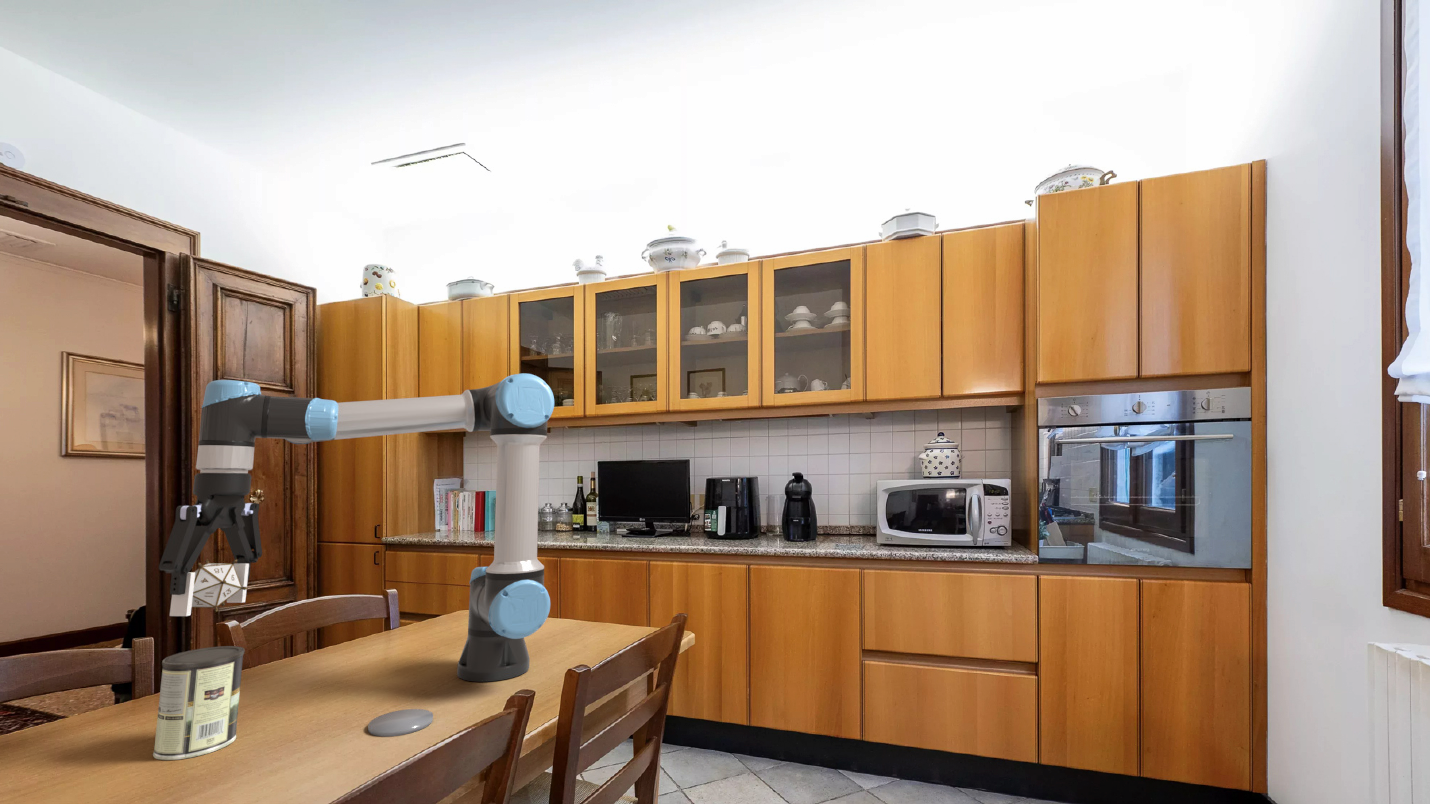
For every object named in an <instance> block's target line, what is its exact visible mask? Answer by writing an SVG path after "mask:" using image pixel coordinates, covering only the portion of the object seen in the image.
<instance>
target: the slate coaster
mask: <svg viewBox="0 0 1430 804" xmlns="http://www.w3.org/2000/svg"><path fill="white" fill-rule="evenodd" d="M433 720H434V714H433V712H432V711H430V710H428V709H421V708H407V709H401V710H395V711H391V712H388V713H387V712H386V713H384V714H381V715H379V716H377V717H375V718H372V720H370V722H369V723H368V726H367V728H368V730H367V731H368V734H371V736H376V737H398V736H405V735H409V734H412V733H416V732H418V731H421V730H423V729H426V728H427V727H429V726H430V725H431V724H432V723H433V722H434V721H433Z"/></svg>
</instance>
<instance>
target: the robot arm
mask: <svg viewBox="0 0 1430 804" xmlns="http://www.w3.org/2000/svg"><path fill="white" fill-rule="evenodd" d="M554 409H555V398H554V393H553V390H552V388H551V387H550V386H549V385H548V384H547V383H546V381H545V380H543V379H542V378H541V377H539V376H537V375H536V374H535V375H534V374H532V373H524V372H523V373H516V374H511V375H508V376H506V377H505V378H504V379H502V380H501V381H498V382H497V383H495V384H492V385H489V386H486V387H479V388H476V389H475V388H473V389H465V390H464V391H463V392H462V393H461V394H453V395H452V394H451V395H438V396H437V395H436V396H423V397H409V398H407V397H406V398H405V397H404V398H390V399H376V400H374V399H373V400H361V401H359V400H357V401H345V402H344V401H343V402H337V401H336V400H333V399H322V398H319V397H314V398H311V397H295V396H294V397H293V396H290V397H289V396H274V395H266V394H262V392H261V386H260V385H259V384H258V383H255V382H252V381H251V382H250V381H244V380H243V381H241V380H233V379H218V380H212V381H210V382H208V384H207V385H206V387H205V391H204V396H203V401H202V405H201V414H200V415H201V416H200V426H199V436H198V447H197V456H196V463H195V464H196V465H195V469H196V470H197V471H200V472H199V473H196V475H194V480H193V487H192V488H193V489H192V494H193V495H194V496H196V502H195V503H194V505H178V506H177V507H176V509H175V519H174V524H173V527H172V529H171V532H170V534H169V538H168V540H167V543H166V545H165V548H164V551H163V554H162V556H161V559H160V562H159V565H158V570H159V571H164V572H165V573H166V574H171V575H170V576H171V577H170V579H171V580H170V584H169V585H170V586H169V587H170V588H169V594H170V595H171V600H170V609H169V617H189V616H191V614H192V608H193V607H192V598H193V589H194V580H195V572H194V571H193V572H192V571H191V570H192V568H194V567H193V566H194V565H195V563H196V561H197V560H198V558H199V556H200V555H201V552H202V550H203V549H204V547H205V546H206V543H207V542H208V540H209V538H210V537H211V535H212V534H214V533H215V532H216V531H217V529H220V530H221V531H222V532H224V535H225V537H226V540H227V542H228V545H229V548H230V550H231V553H232V556H233V559H234V560H237V562H236V563H235V564H234V567H235V569H236V572H237V575H238V577H239V580H240V583H241V585H242V587H247V588H248V582H249V579H250V573H251V565H252V563H254V564H256V563H257V562H258V560H259V558H261V557H262V556H263V548H262V547H263V546H262V540H261V533H260V524H259V511H260V504H259V503H258V502H254V503H253V502H246V501H245V496H248V495H249V494H250V492H251V484H252V475H251V473H249V471H252V470H253V468H254V460H255V459H254V458H255V456H254V455H255V446H256V438H258V439H260V438H261V439H278V440H279V439H284V440H285V441H287V442H289V443H291V444H295V445H307V444H310V443H311V444H312V443H315V442H316V443H317V442H326V441H335V440H344V439H345V440H346V439H356V438H369V437H379V436H388V435H389V436H391V435H401V434H410V433H411V434H413V433H421V432H423V433H424V432H432V431H445V430H455V429H456V430H457V429H464V430H466V431H467V432H469V433H471V432H472V433H473V432H490V433H489V438H490V439H491V440H492V441H493V442H494V443H495V444H496V446H497V447H496V448H497V451H496V452H497V454H496V455H497V456H496V482H495V483H496V485H495V515H494V516H495V519H494V545H493V547H494V548H493V550H494V551H493V552H494V553H493V555H494V556H493V561H492V563H490V564H489V566H477V567H475V568H474V569H472V571H471V575H470V580H469V603H468V604H469V605H468V623H467V638H466V641H465V643H464V646H463V649H462V652H461V655H460V656H459V660H458V662H457V668H456V670H457V671H456V675H457V678H459V679H461V680H463V681H469V682H479V683H480V682H495V681H504V680H508V679H512V678H516V677H518V676H521V675H523V674H525V673H527V672H528V671H529V670H530V654H529V651H528V647H527V644H526V640H525V638H526V637H529V636H531V635H533V634H534V633H536V632H537V631H538V630H539V629H540V628H541V627H542V626H543V625H544V624H545V623H546V620H547V619H548V617H549V614H550V610H551V597H550V595H549V592H548V590H547V589H546V587H545V565H544V564H542V563H541V561H540V560H538V559H539V558H538V532H539V531H538V529H539V528H538V525H539V491H540V488H539V487H540V486H539V484H540V483H539V482H540V481H539V480H540V479H539V478H540V477H539V476H540V446H541V444H542V443H543V442H544V441H546V439H547V438H548V421H549V419H550V418H551V417H552V414H553V413H554ZM190 571H191V572H190ZM247 590H248V589H246V590H243V589H241V590H239V591H238V592H237V593H235V594H234V595H233V596H231V597H230V598H229V599H227V600H226V603H229V604H231V603H232V604H237V603H238V604H239V603H240V604H242V603H246V598H247ZM528 669H529V670H528Z"/></svg>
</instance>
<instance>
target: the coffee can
mask: <svg viewBox="0 0 1430 804" xmlns="http://www.w3.org/2000/svg"><path fill="white" fill-rule="evenodd" d="M245 652H246V651H245V648H244V647H242V646H237V645H236V646H235V645H224V646H223V645H222V646H211V647H204V648H197V649H191V650H187V651H182V652H178V653H174V654H172V655H169V656H166V657H165V658H164V659H163V660H162V662H161V666H162V670H161V671H162V672H161V679H160V680H161V681H160V690H159V691H160V692H159V700H158V701H159V702H158V711H157V718H156V719H157V721H156V728H155V739H154V740H155V741H154V749H153V752H152V756H153V758H154V759H156V760H161V761H176V760H183V759H191V758H195V757H199V756H203V755H208V754H210V753H213V752H216V751H218V750H221V749H224V748H225V747H227V746H230V745H231V744H233V742H235V741H236V739H237V727H238V713H239V703H240V693H241V691H240V690H241V683H242V672H243V661H244V655H245Z"/></svg>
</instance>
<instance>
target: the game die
mask: <svg viewBox="0 0 1430 804" xmlns="http://www.w3.org/2000/svg"><path fill="white" fill-rule="evenodd" d="M204 563H205V564H202V562H198V564H197V567H198V568H197V569H195V570H194V571H193V572H195V580H194V589H193V598H192V607H191V608H208V609H209V608H213V610H214V611H215V613H217V612H218V611H219V606H220V605H221V607H225V606H226V603H227V599H229V598H230V597H231V596H233V595H234V594H235V593H237V592H238V591H239V590H241V589H243V590H246V589H247V590H248V588H249V587H248V586H247V587H242V585H241V583H240V580H239V577H238V575H237V572H236V569H235V567H234V564H235V563H237V560H235V559H234V560H232V562H230V563H229V562H228V563H227V562H223V563H222V562H219V563H218V562H216V563H215V562H210V560H209V559H206V560H205V562H204Z"/></svg>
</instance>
